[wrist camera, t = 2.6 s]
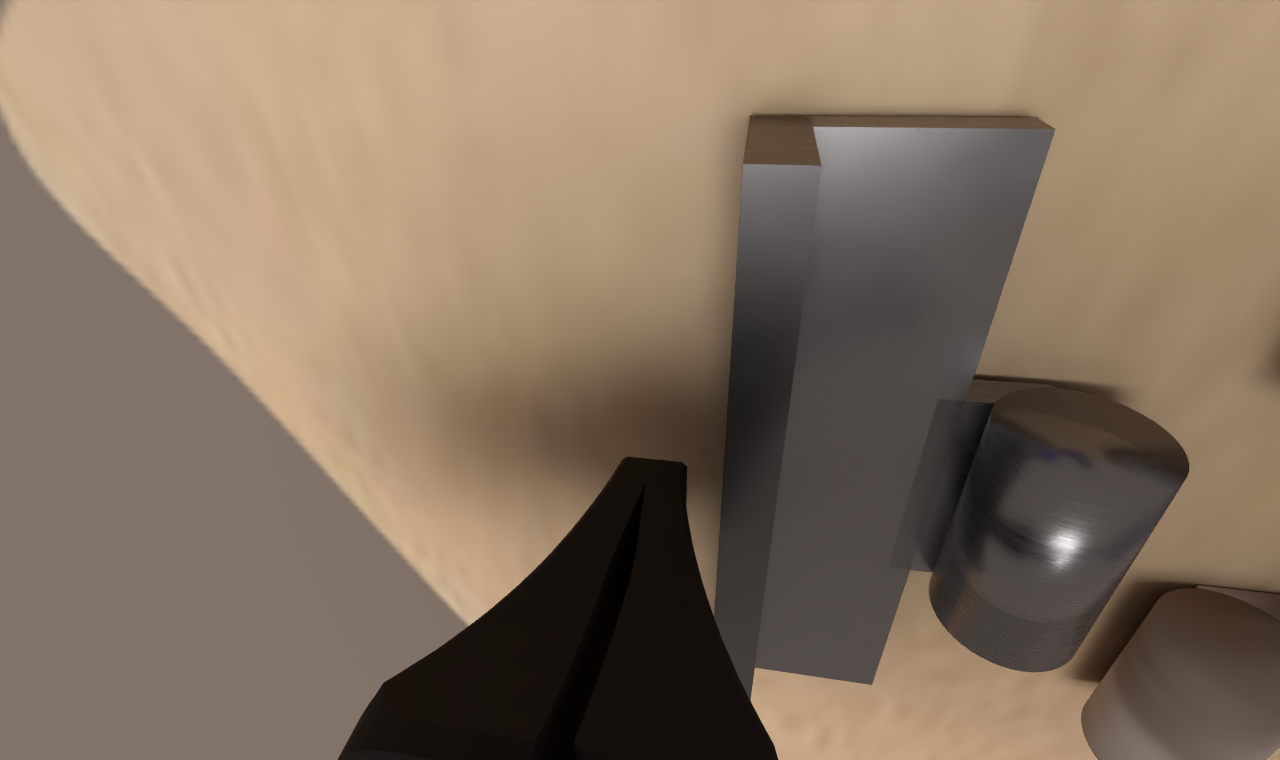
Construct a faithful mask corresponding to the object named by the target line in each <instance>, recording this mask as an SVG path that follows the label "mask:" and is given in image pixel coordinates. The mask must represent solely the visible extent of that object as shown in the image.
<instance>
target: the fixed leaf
mask: <svg viewBox="0 0 1280 760" xmlns="http://www.w3.org/2000/svg"><path fill="white" fill-rule="evenodd" d="M1081 723H1082V728H1083V732H1084V735H1085V738H1086V740H1087V742H1088V745H1089V746H1090V748H1091V750H1092V752H1093V753H1094V755H1095V756H1096V757H1097V759H1098V760H1266V759H1267V758H1269V757H1270V756H1271V755H1272V754H1273V753H1274V752H1275V751H1276V750H1277V749H1279V748H1280V594H1272V593H1263V592H1254V591H1245V590H1237V589H1228V588H1219V587H1210V586H1201V585H1197V587H1196V588H1181V589H1175V590H1172V591H1169V592H1167V593H1165V594H1163V595H1162V596H1161V597H1160V598H1159V599H1158V601H1157V602H1156V604H1155V605H1154V607H1153V608H1152V609H1151V611H1150V612H1149V614H1148V615H1147V616H1146V618H1145V619H1144V621H1143V622H1142V624H1141V625H1140V626H1139V628H1138V629H1137V631H1136V632H1135V634H1134V635H1133V636H1132V638H1131V639H1130V641H1129V642H1128V644H1127V645H1126V646H1125V648H1124V649H1123V651H1122V652H1121V653H1120V655H1119V656H1118V658H1117V659H1116V661H1115V662H1114V663H1113V665H1112V666H1111V668H1110V669H1109V671H1108V672H1107V673H1106V675H1105V676H1104V678H1103V679H1102V680H1101V682H1100V683H1099V685H1098V686H1097V688H1096V689H1095V690H1094V692H1093V693H1092V695H1091V696H1090V698H1089V699H1088V700H1087V702H1086V703H1085V705H1084V707H1083V710H1082V715H1081Z"/></svg>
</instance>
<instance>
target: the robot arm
mask: <svg viewBox="0 0 1280 760" xmlns="http://www.w3.org/2000/svg"><path fill="white" fill-rule="evenodd" d="M686 493H687V466H686V465H684V464H683V463H682V462H675V461H665V460H655V459H644V458H634V457H626V458H624V459H623V460H622V461H621V463H620V464H619V466H618V468H617V469H616V471H615V472H614V474H613V475H612V477H611V478H610V480H609V481H608V483H607V484H606V486H605V487H604V489H603V490H602V491H601V493H600V494H599V495H598V497H597V498H596V500H595V501H594V502H593V503H592V505H591V506H590V507H589V509H588V510H587V511H586V512H585V514H584V515H583V516H582V517H581V519H580V520H579V521H578V523H577V524H576V525H575V526H574V527H573V529H572V530H571V531H570V532H569V533H568V534H567V535H566V537H565V538H564V539H563V540H562V541H561V542H560V543H559V544H558V546H557V547H556V548H555V549H554V550H553V551H552V552H551V553H550V554H549V555H548V557H547V558H546V559H545V560H544V561H543V562H542V563H541V564H540V565H539V566H538V567H537V568H536V569H535V570H534V571H533V572H532V573H531V574H530V575H529V576H528V577H526V578H525V579H524V580H523V581H522V582H521V583H520V584H519V585H518V586H517V587H516V588H515V589H513V590H512V591H511V592H510V593H509V594H508V595H507V596H505V597H504V598H503V599H502V600H501V601H500V602H499V603H497V604H496V605H495V606H494V607H493V608H491V609H490V610H489V611H488V612H487V613H485V614H484V615H483V616H482V617H480V618H479V619H478V620H476V621H475V622H474V623H472V624H471V625H470V626H468V627H467V628H465V629H464V630H463V631H461V632H460V633H459V634H457V635H456V636H455V637H453V638H452V639H451V640H449V641H448V642H446V643H445V644H444V645H442V646H441V647H439V648H438V649H437V650H435V651H434V652H432V653H431V654H429V655H427V656H426V657H424V658H423V659H421V660H419V661H418V662H416V663H415V664H413V665H411V666H410V667H408V668H407V669H405V670H404V671H402V672H401V673H399V674H397V675H396V676H394V677H393V678H391V679H389V680H387V681H386V682H384V683H383V685H382V686H381V688H380V689H379V691H378V692H377V694H376V695H375V697H374V698H373V699H372V701H371V702H370V703H369V705H368V707H367V708H366V710H365V711H364V713H363V714H362V716H361V718H360V719H359V721H358V723H357V725H356V727H355V729H354V731H353V732H352V734H351V736H350V738H349V740H348V742H347V743H346V745H345V747H344V749H343V751H342V753H341V755H340V756H339V758H338V760H778V757H777V754H776V750H775V747H774V744H773V742H772V740H771V739H770V737H769V735H768V733H767V731H766V730H765V728H764V726H763V724H762V722H761V720H760V719H759V717H758V715H757V713H756V711H755V709H754V707H753V705H752V703H751V701H750V699H749V697H748V695H747V693H746V691H745V689H744V687H743V685H742V683H741V681H740V679H739V677H738V674H737V672H736V670H735V667H734V665H733V663H732V660H731V658H730V656H729V653H728V651H727V649H726V647H725V644H724V642H723V640H722V637H721V635H720V632H719V629H718V627H717V624H716V621H715V619H714V616H713V613H712V610H711V607H710V604H709V601H708V599H707V596H706V592H705V589H704V586H703V583H702V579H701V576H700V572H699V568H698V564H697V561H696V557H695V553H694V548H693V544H692V539H691V533H690V528H689V523H688V516H687V509H686Z"/></svg>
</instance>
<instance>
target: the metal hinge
mask: <svg viewBox="0 0 1280 760" xmlns="http://www.w3.org/2000/svg"><path fill="white" fill-rule="evenodd" d="M1054 132H1055V129H1054V128H1053V127H1051V126H1050V125H1048V124H1046V123H1045V122H1043V121H1042V120H1040V119H1038V118H1034V117H890V116H750V121H749V128H748V134H747V141H746V148H745V155H744V162H743V175H742V191H741V206H740V222H739V238H738V253H737V269H736V285H735V301H734V316H733V332H732V348H731V363H730V379H729V395H728V410H727V426H726V442H725V458H724V473H723V489H722V505H721V520H720V536H719V552H718V567H717V583H716V599H715V615H714V619H715V621H716V624H717V627H718V629H719V632H720V635H721V637H722V640H723V642H724V644H725V647H726V649H727V651H728V653H729V656H730V658H731V660H732V663H733V665H734V667H735V670H736V672H737V674H738V677H739V679H740V681H741V683H742V685H743V687H744V689H745V691H746V693H747V695H748V697H749V699H751V691H752V684H753V676H754V669H755V668H762V669H768V670H775V671H782V672H789V673H795V674H802V675H809V676H816V677H823V678H829V679H836V680H843V681H850V682H856V683H863V684H870V685H872V683H873V680H874V677H875V674H876V671H877V668H878V665H879V662H880V659H881V656H882V653H883V650H884V647H885V644H886V641H887V637H888V634H889V631H890V628H891V625H892V622H893V619H894V616H895V613H896V610H897V607H898V604H899V601H900V598H901V595H902V592H903V589H904V586H905V583H906V580H907V577H908V574H909V571H910V570H916V571H925V572H933V573H932V576H931V579H930V583H929V597H930V601H931V604H932V607H933V609H934V612H935V614H936V616H937V617H938V619H939V620H940V622H941V623H942V625H943V626H944V627H945V628H946V630H947V631H948V632H949V633H950V634H951V635H952V636H953V637H954V638H955V639H956V640H957V641H959V642H960V643H961V644H962V645H963V646H965V647H966V648H968V649H969V650H970V651H972V652H973V653H975V654H977V655H978V656H980V657H982V658H984V659H986V660H988V661H990V662H992V663H995V664H997V665H1000V666H1003V667H1006V668H1009V669H1013V670H1018V671H1025V672H1044V671H1050V670H1054V669H1057V668H1059V667H1061V666H1063V665H1065V664H1066V663H1067V662H1068V661H1070V660H1071V659H1072V657H1073V656H1074V655H1075V653H1076V651H1077V650H1078V648H1079V647H1080V645H1081V644H1082V642H1083V640H1084V639H1085V637H1086V636H1087V634H1088V633H1089V631H1090V629H1091V628H1092V626H1093V625H1094V623H1095V621H1096V620H1097V618H1098V617H1099V615H1100V614H1101V612H1102V610H1103V609H1104V607H1105V606H1106V604H1107V602H1108V601H1109V599H1110V598H1111V596H1112V595H1113V593H1114V591H1115V590H1116V588H1117V587H1118V585H1119V583H1120V582H1121V580H1122V579H1123V577H1124V576H1125V574H1126V572H1127V571H1128V569H1129V568H1130V566H1131V565H1132V563H1133V561H1134V560H1135V558H1136V557H1137V555H1138V553H1139V552H1140V550H1141V549H1142V547H1143V546H1144V544H1145V542H1146V541H1147V539H1148V538H1149V536H1150V534H1151V533H1152V531H1153V530H1154V528H1155V527H1156V525H1157V523H1158V522H1159V520H1160V519H1161V517H1162V515H1163V514H1164V512H1165V511H1166V509H1167V508H1168V506H1169V504H1170V503H1171V501H1172V500H1173V498H1174V496H1175V495H1176V493H1177V492H1178V490H1179V489H1180V487H1181V485H1182V484H1183V482H1184V481H1185V479H1186V478H1187V475H1188V472H1189V462H1188V458H1187V455H1186V453H1185V451H1184V450H1183V448H1182V447H1181V445H1180V444H1179V443H1178V442H1177V441H1176V439H1175V438H1174V437H1173V436H1172V435H1171V434H1169V433H1168V432H1167V431H1166V430H1165V429H1164V428H1162V427H1161V426H1160V425H1158V424H1157V423H1155V422H1154V421H1152V420H1151V419H1149V418H1148V417H1146V416H1144V415H1142V414H1140V413H1139V412H1137V411H1135V410H1133V409H1131V408H1128V407H1126V406H1124V405H1122V404H1119V403H1117V402H1114V401H1112V400H1109V399H1106V398H1103V397H1100V396H1096V395H1093V394H1089V393H1085V392H1080V391H1076V390H1070V389H1063V388H1054V387H1053V386H1052V385H1049V384H1035V383H1020V382H1006V381H992V380H978V379H973V377H974V374H975V371H976V368H977V365H978V362H979V359H980V356H981V353H982V350H983V347H984V344H985V341H986V338H987V335H988V332H989V329H990V326H991V322H992V319H993V316H994V313H995V310H996V307H997V304H998V301H999V298H1000V295H1001V292H1002V289H1003V286H1004V283H1005V280H1006V277H1007V274H1008V271H1009V268H1010V265H1011V262H1012V259H1013V256H1014V253H1015V250H1016V247H1017V244H1018V241H1019V238H1020V235H1021V232H1022V229H1023V226H1024V223H1025V219H1026V216H1027V213H1028V210H1029V207H1030V204H1031V201H1032V198H1033V195H1034V192H1035V189H1036V186H1037V183H1038V180H1039V177H1040V174H1041V171H1042V168H1043V165H1044V162H1045V159H1046V156H1047V153H1048V150H1049V147H1050V144H1051V141H1052V138H1053V135H1054Z"/></svg>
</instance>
